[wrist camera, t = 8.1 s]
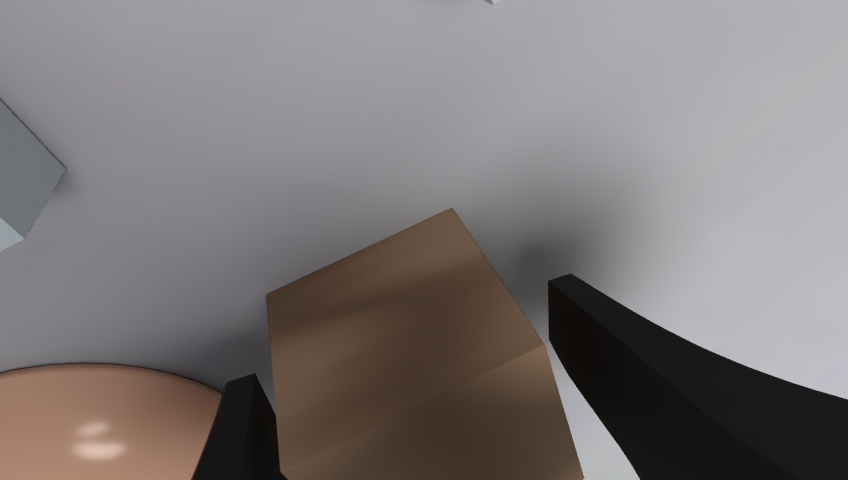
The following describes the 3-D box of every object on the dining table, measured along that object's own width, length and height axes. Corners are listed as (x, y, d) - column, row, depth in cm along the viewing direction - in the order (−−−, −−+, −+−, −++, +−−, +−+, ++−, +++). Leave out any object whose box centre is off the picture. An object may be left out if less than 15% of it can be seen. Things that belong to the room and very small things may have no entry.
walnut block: (348, 404, 16) (386, 577, 12) (266, 292, 13) (279, 471, 9) (498, 333, 16) (584, 478, 12) (450, 205, 13) (544, 344, 9)
